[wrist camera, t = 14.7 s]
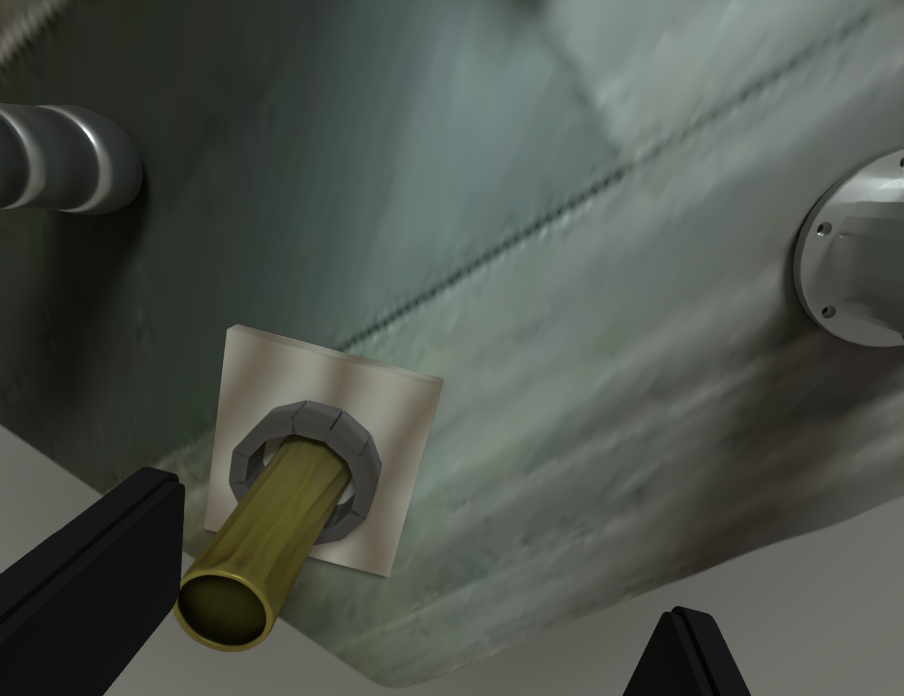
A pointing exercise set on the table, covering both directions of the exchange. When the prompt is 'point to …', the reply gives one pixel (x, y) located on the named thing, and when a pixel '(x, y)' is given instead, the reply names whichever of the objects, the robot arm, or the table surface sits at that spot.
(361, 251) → the table surface
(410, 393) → the plate
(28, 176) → the plastic bottle
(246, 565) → the vase
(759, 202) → the table surface
